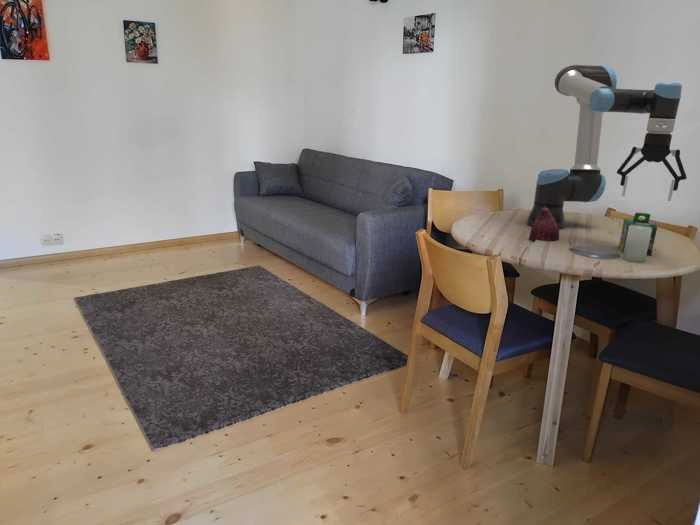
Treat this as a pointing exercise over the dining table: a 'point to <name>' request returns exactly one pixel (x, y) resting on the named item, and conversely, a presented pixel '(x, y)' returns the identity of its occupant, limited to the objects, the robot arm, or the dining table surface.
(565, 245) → the dining table surface
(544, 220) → the vegetable
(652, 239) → the chalk box
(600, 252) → the dish
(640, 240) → the grey-green rectangular block
